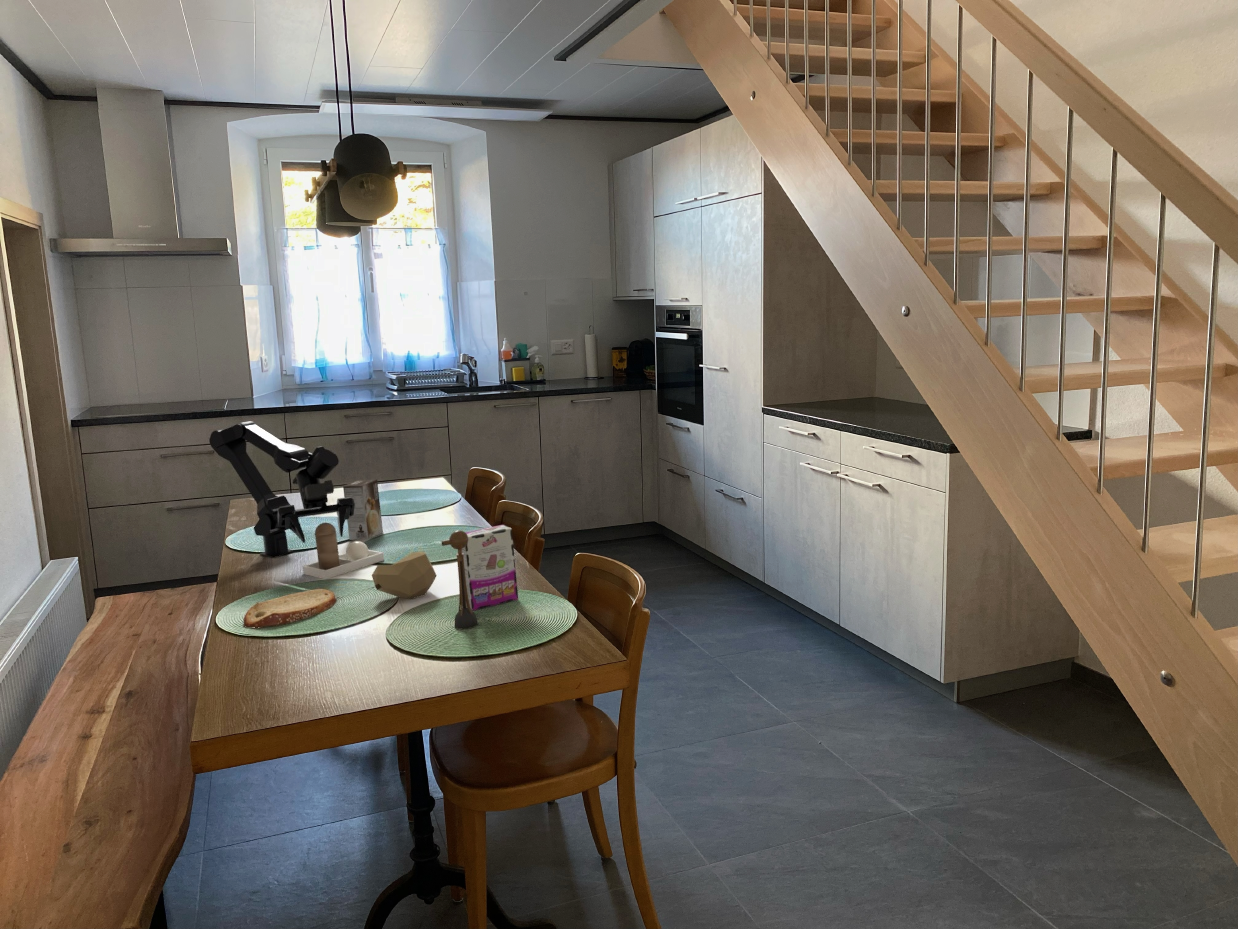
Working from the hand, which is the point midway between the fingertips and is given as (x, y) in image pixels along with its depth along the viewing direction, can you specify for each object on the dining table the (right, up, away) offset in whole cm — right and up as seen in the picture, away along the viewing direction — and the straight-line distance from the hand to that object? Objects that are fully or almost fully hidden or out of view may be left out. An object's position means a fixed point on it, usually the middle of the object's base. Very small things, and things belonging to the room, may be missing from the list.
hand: (323, 539), depth 228 cm
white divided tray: (+5, -8, +2) cm, 9 cm away
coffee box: (+1, -2, +34) cm, 34 cm away
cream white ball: (+7, -7, +5) cm, 11 cm away
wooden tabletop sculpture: (+43, -14, -44) cm, 63 cm away
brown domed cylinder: (+2, -8, -2) cm, 8 cm away
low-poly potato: (+26, -11, -23) cm, 37 cm away
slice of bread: (+3, -14, -29) cm, 33 cm away
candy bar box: (+47, -12, -30) cm, 57 cm away
